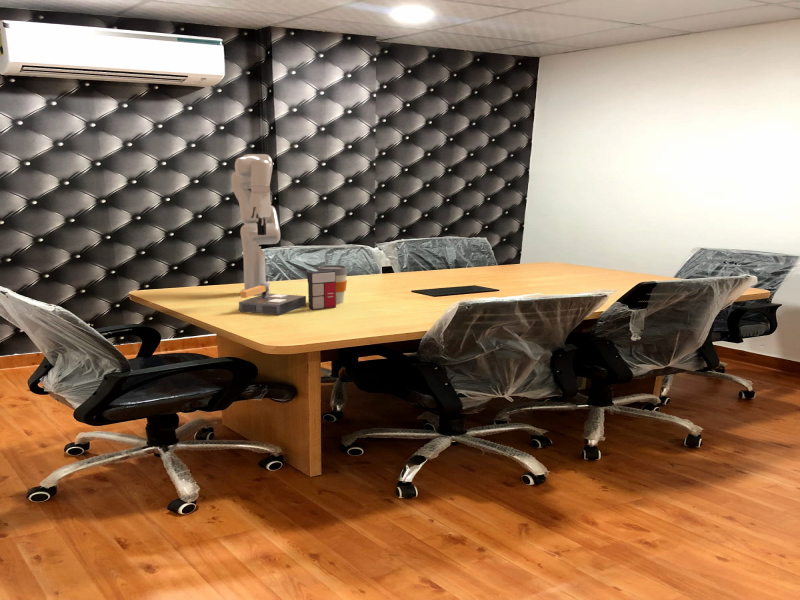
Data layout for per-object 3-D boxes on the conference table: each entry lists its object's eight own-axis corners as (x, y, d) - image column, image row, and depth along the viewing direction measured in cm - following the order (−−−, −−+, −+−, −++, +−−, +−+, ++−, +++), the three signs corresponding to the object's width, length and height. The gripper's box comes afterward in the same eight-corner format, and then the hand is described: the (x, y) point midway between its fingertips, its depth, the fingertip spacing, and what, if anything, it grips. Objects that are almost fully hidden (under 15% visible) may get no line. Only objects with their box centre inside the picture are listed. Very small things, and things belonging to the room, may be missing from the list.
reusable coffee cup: (318, 299, 317) (317, 265, 314) (347, 299, 318) (346, 265, 315) (317, 305, 304) (317, 269, 302) (348, 304, 305) (347, 268, 303)
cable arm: (262, 289, 306) (262, 283, 306) (270, 290, 305) (270, 283, 305) (239, 297, 288) (239, 290, 287) (247, 298, 287) (247, 290, 286)
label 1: (276, 294, 305) (276, 294, 305) (287, 295, 303) (287, 294, 303) (269, 297, 299) (269, 296, 299) (280, 297, 298) (280, 297, 298)
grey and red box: (312, 310, 293) (311, 273, 290) (307, 308, 296) (307, 271, 294) (337, 307, 298) (336, 271, 296) (332, 306, 302) (331, 270, 299)
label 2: (275, 299, 294) (275, 298, 294) (286, 300, 292) (286, 299, 292) (267, 301, 288) (267, 301, 288) (278, 302, 287) (278, 302, 287)
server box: (267, 302, 309) (266, 289, 308) (306, 305, 303) (305, 292, 302) (238, 312, 289) (237, 298, 288) (279, 315, 283) (278, 301, 282)
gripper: (261, 189, 310) (263, 232, 313) (242, 190, 296) (244, 236, 299) (277, 189, 307) (278, 233, 311) (259, 191, 293) (260, 236, 297)
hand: (261, 234), depth 305 cm, fingers closed
